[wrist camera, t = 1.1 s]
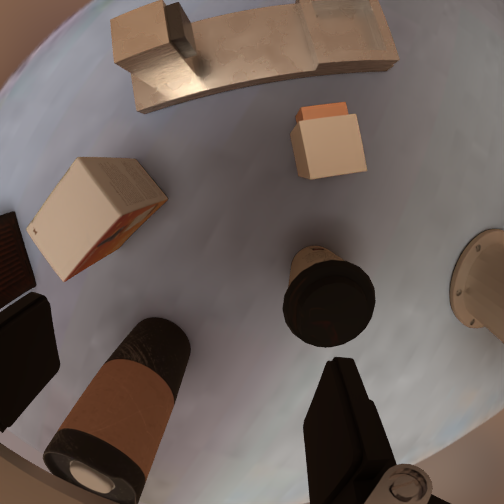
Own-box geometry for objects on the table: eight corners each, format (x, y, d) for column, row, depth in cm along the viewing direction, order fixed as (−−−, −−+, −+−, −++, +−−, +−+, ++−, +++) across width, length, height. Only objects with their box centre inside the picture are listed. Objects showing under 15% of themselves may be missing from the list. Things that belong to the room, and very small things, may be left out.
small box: (118, 249, 30) (62, 285, 20) (87, 209, 29) (23, 230, 19) (170, 198, 28) (123, 217, 18) (136, 156, 27) (76, 155, 17)
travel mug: (124, 352, 34) (44, 475, 14) (140, 303, 32) (37, 433, 12) (181, 379, 34) (130, 519, 15) (203, 334, 32) (147, 492, 13)
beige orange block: (339, 169, 27) (366, 170, 19) (298, 176, 27) (310, 179, 20) (329, 117, 26) (352, 100, 18) (287, 123, 26) (295, 106, 18)
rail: (365, 10, 22) (399, -39, 12) (386, 71, 24) (433, 37, 14) (135, 50, 24) (86, 14, 15) (144, 114, 26) (92, 95, 17)
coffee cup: (304, 219, 28) (323, 246, 19) (361, 257, 29) (400, 298, 19) (264, 278, 30) (263, 330, 20) (321, 312, 31) (341, 370, 21)
